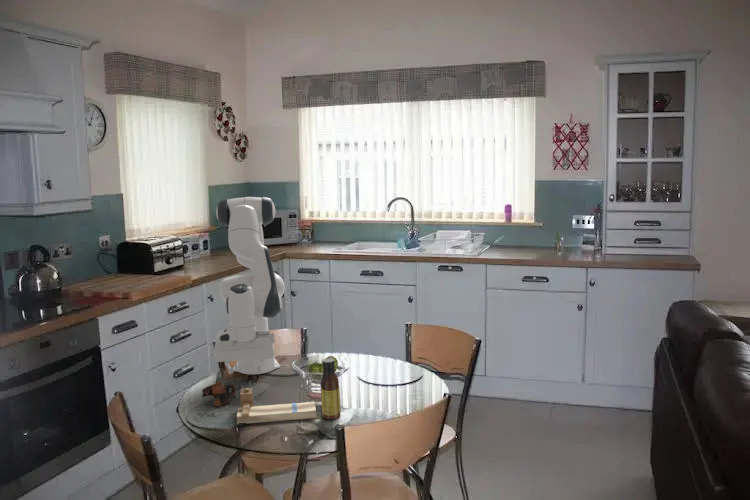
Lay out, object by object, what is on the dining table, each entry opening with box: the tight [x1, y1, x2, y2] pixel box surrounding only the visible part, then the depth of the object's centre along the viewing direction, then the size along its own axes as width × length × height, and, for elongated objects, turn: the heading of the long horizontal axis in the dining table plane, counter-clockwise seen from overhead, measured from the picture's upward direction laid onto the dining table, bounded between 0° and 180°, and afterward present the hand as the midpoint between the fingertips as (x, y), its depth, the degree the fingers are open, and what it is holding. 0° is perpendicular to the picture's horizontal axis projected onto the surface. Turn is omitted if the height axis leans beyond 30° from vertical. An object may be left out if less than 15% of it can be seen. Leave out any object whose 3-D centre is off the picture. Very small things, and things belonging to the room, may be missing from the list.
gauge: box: [239, 387, 255, 417], centre depth 229 cm, size 15×4×8 cm, turn 8°
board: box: [236, 401, 317, 425], centre depth 229 cm, size 8×26×3 cm, turn 98°
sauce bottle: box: [320, 357, 342, 420], centre depth 226 cm, size 7×6×20 cm
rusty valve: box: [201, 381, 237, 407], centre depth 243 cm, size 12×10×8 cm
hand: (245, 372), depth 232 cm, fingers open, 8 cm apart
